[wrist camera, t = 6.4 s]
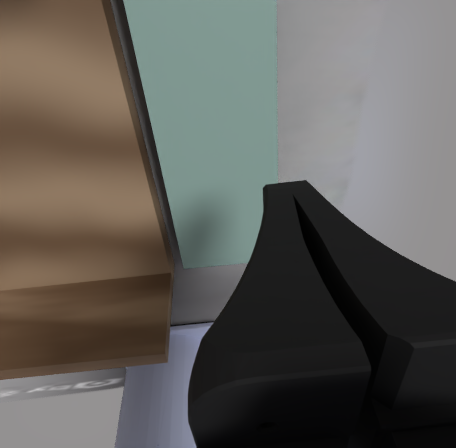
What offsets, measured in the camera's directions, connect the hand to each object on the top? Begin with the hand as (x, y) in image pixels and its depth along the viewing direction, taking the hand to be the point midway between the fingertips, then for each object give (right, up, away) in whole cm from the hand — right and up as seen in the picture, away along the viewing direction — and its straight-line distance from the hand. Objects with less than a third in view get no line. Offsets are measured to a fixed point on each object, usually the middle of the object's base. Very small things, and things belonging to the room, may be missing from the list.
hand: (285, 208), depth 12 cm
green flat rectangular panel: (-5, +4, +5) cm, 8 cm away
